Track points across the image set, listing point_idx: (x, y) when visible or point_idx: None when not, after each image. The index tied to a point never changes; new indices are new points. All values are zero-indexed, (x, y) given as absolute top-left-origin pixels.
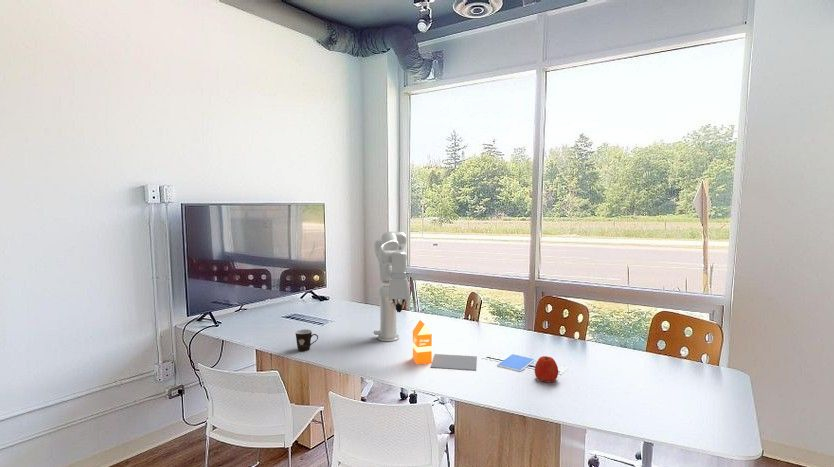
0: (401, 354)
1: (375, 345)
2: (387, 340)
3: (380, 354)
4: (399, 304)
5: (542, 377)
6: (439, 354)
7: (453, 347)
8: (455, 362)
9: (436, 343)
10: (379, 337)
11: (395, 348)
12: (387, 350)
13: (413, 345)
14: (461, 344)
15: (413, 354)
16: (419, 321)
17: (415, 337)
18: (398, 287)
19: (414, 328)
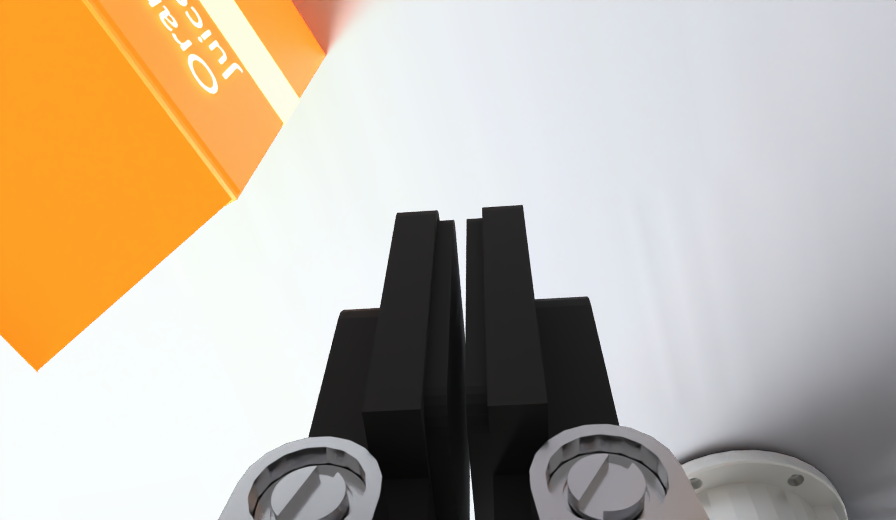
0: (489, 139)
1: (843, 335)
2: (729, 457)
3: (742, 84)
4: (406, 459)
5: None
6: None
7: (40, 424)
8: None
9: (233, 486)
10: (828, 503)
11: (601, 296)
12: (679, 223)
13: (266, 71)
14: (6, 500)
15: (295, 39)
16: (41, 322)
17: (135, 4)
18: None
19: (194, 222)
